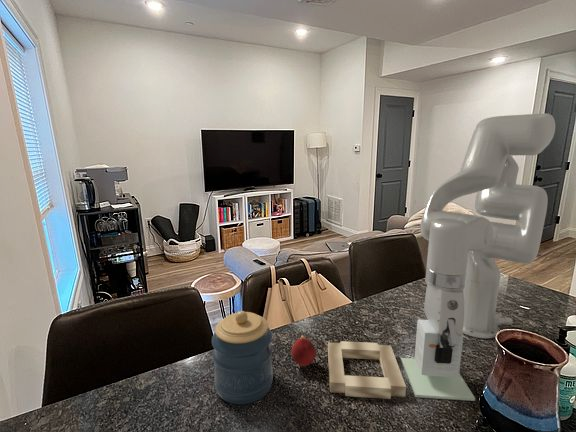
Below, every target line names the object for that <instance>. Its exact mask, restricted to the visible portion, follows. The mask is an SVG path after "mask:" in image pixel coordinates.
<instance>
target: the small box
mask: <svg viewBox="0 0 576 432" xmlns="http://www.w3.org/2000/svg"><path fill="white" fill-rule="evenodd" d="M416 321H417V322H416V324H417V325H416V335H415V337H416V338H415V349H414V359H415V361H416V363H417V366H418V368H419V370H420V372H421V374H422V375H429V376H448V377H459V373H460V369H461V361H462V360H461V359H462V353H463V345H464V344H463V343H464V333H462V335H461V336H458V335H457V339H458V345H456V346H454V349H453V351H452V360H451V363H450V364H445V363H436V362H435V352H436V345H438V333H437V332H436V331H435V329H434V328H433V326H432V325H431V323H430V322H429V320H427V319H417V320H416ZM443 332H448V331H447V329H445V330H444V331H443ZM444 340H448V336H443V341H444Z"/></svg>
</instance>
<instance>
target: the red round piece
mask: <svg viewBox="0 0 576 432" xmlns="http://www.w3.org/2000/svg"><path fill="white" fill-rule="evenodd" d="M316 351H317V350H316V347H315V346H314V344H313V342H312V341H311V340H310V339H308V338H306V337H305V336H304V334H303V335H300V338H297V340H295V341H294V343H293V345H292V347H291V351H290V352H291V358H292V359H293V361H294V362H295V363H296V364H297V365H298V366H300V367H307V366H309V365H311V364H313V362H314V360H315V358H316V354H317V352H316Z"/></svg>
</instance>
